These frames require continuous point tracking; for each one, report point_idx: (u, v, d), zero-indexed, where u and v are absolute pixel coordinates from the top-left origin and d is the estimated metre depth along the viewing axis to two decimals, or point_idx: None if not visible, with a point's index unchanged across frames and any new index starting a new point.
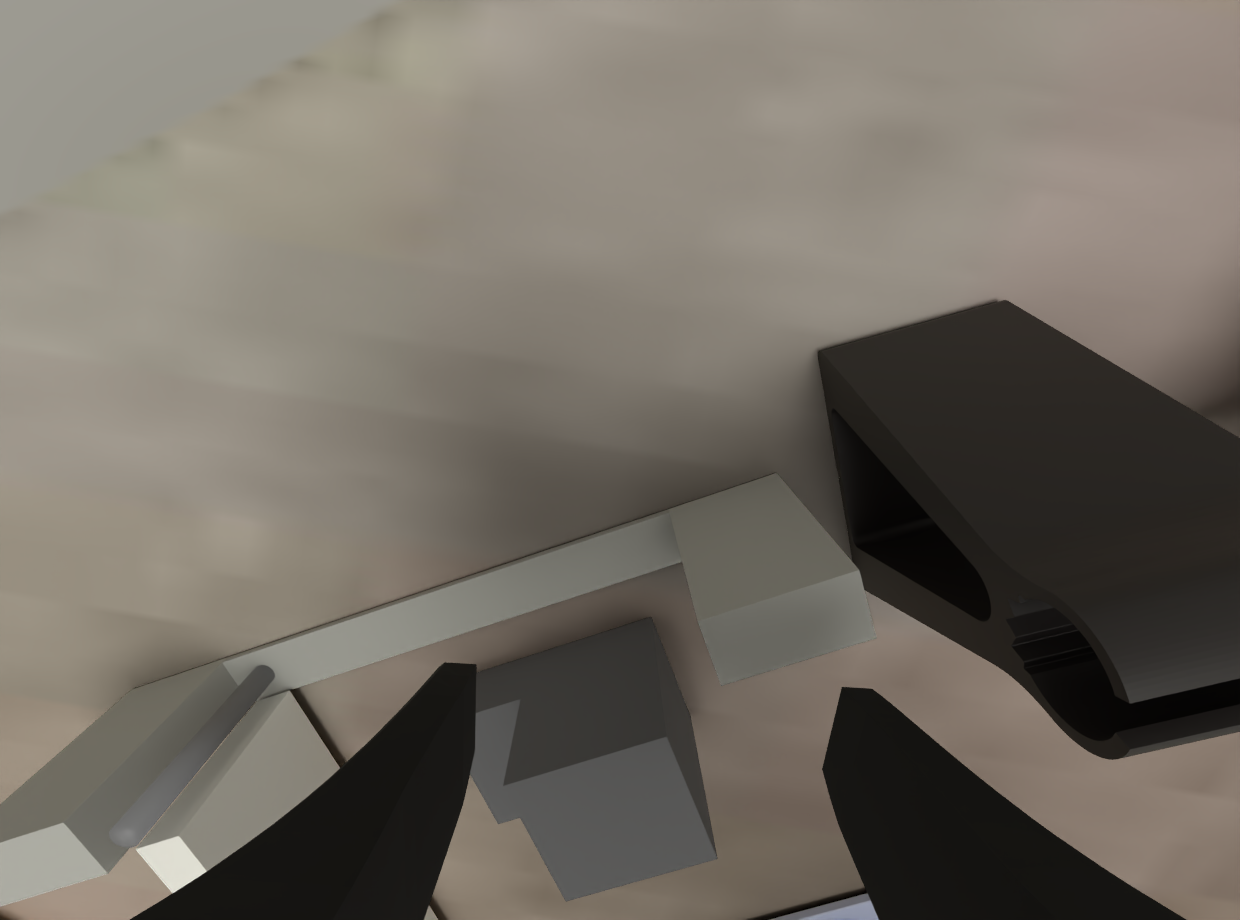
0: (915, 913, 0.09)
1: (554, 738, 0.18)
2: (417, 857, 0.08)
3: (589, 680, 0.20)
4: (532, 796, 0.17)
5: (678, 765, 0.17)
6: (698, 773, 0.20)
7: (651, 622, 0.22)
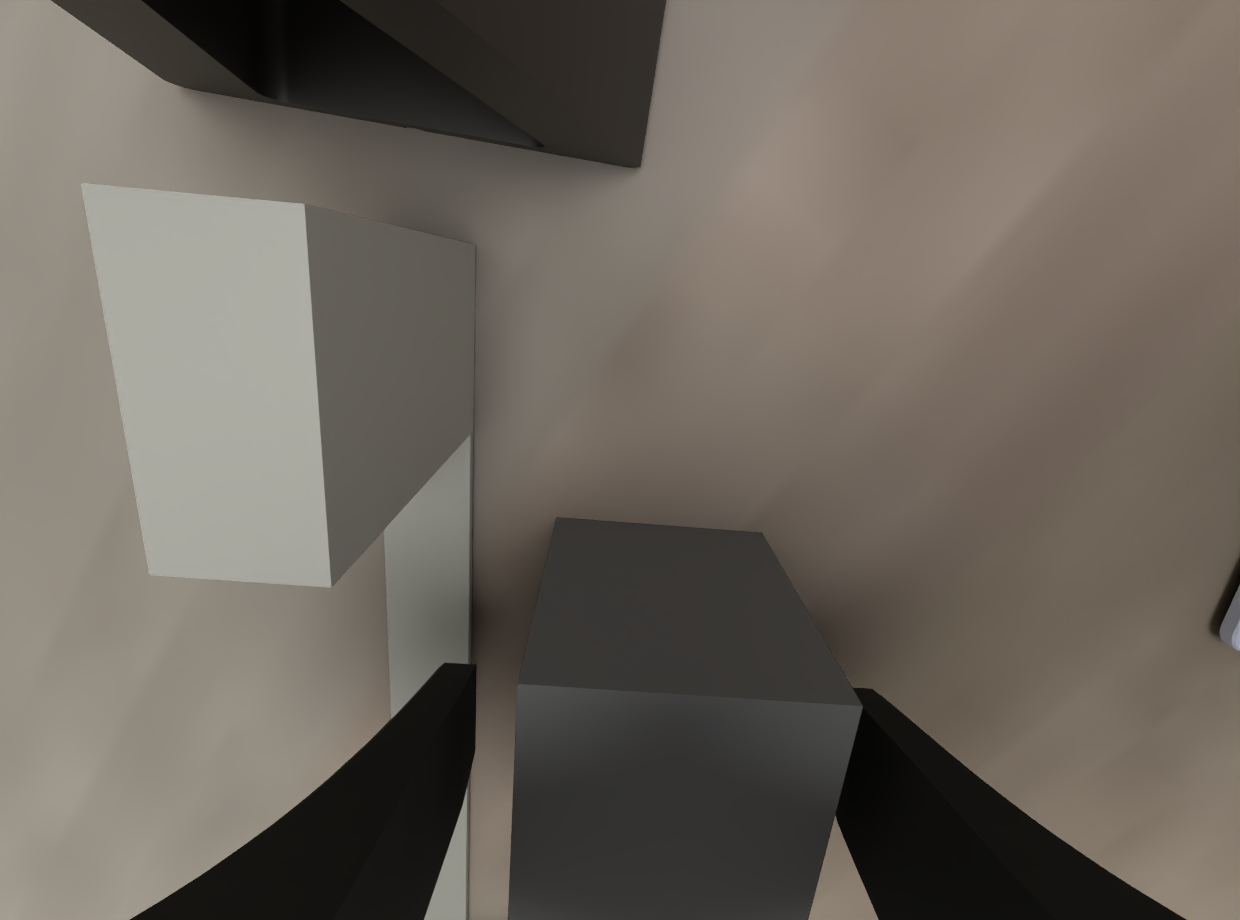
0: (915, 913, 0.09)
1: None
2: (417, 857, 0.08)
3: None
4: (548, 906, 0.10)
5: (598, 687, 0.08)
6: (771, 605, 0.11)
7: (556, 523, 0.14)
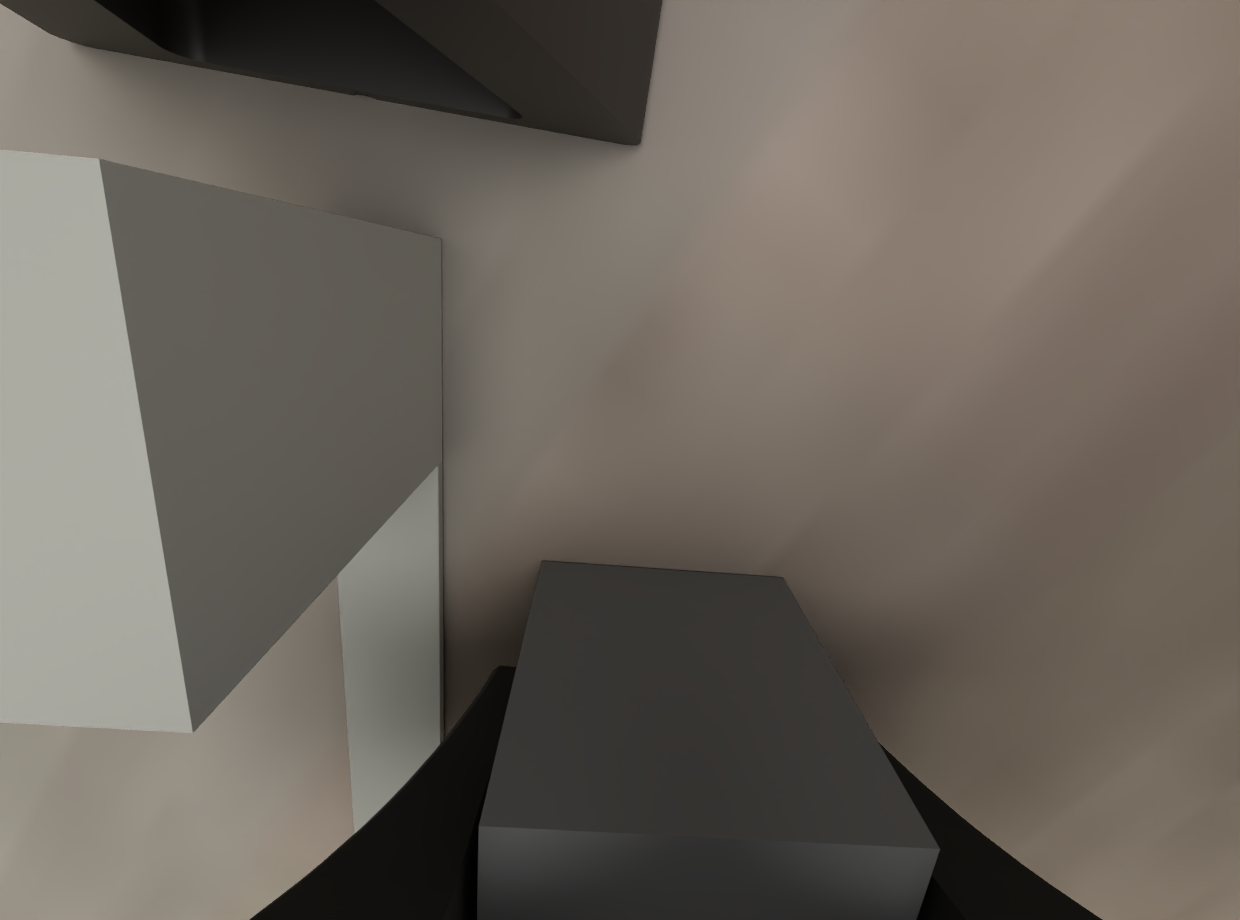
0: None
1: None
2: None
3: None
4: None
5: (588, 827, 0.06)
6: (803, 684, 0.09)
7: (541, 569, 0.12)
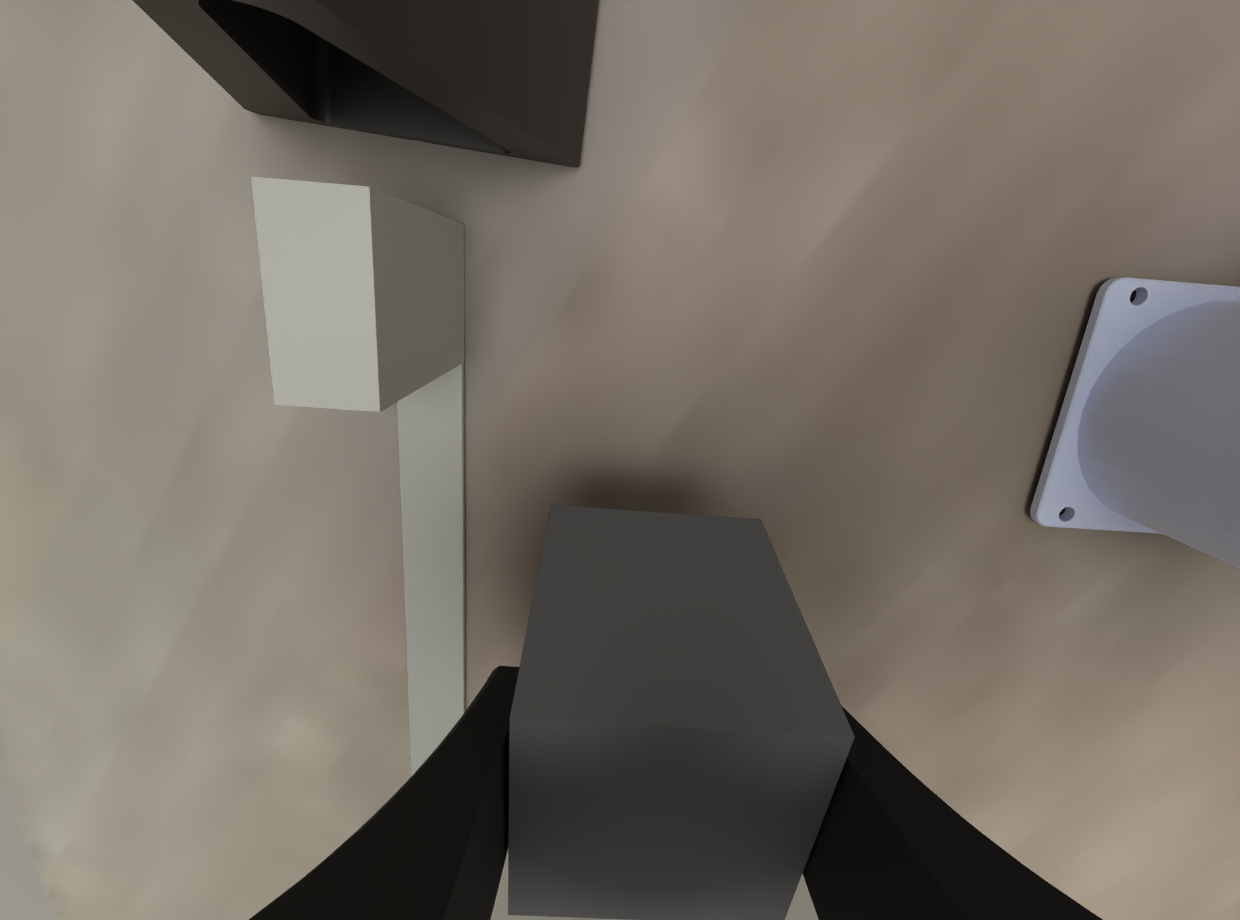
0: (848, 910, 0.09)
1: None
2: (488, 860, 0.08)
3: None
4: (546, 895, 0.10)
5: (591, 720, 0.08)
6: (767, 613, 0.11)
7: (550, 512, 0.13)
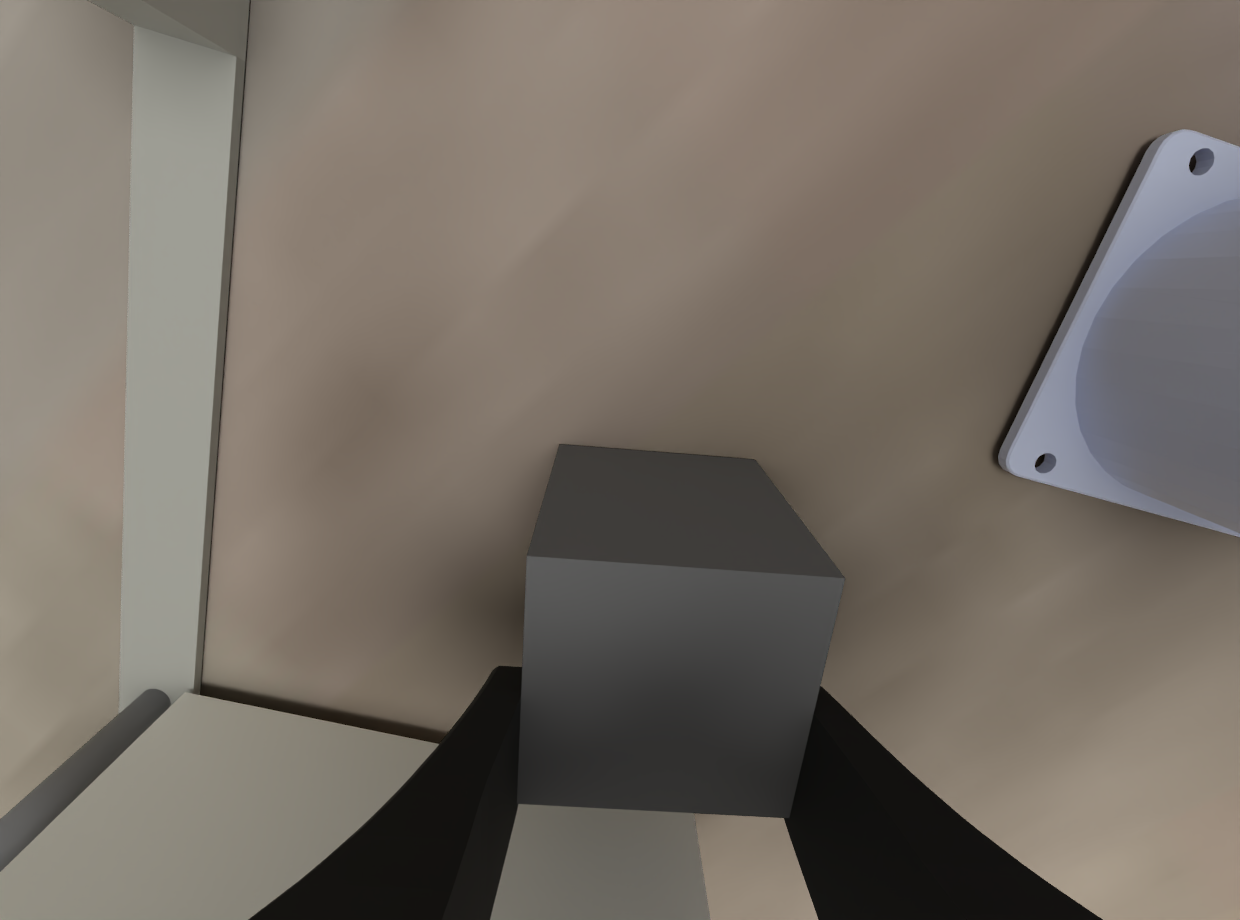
0: (848, 910, 0.09)
1: None
2: (487, 860, 0.08)
3: None
4: (555, 777, 0.10)
5: (601, 560, 0.09)
6: (762, 509, 0.12)
7: (559, 449, 0.14)
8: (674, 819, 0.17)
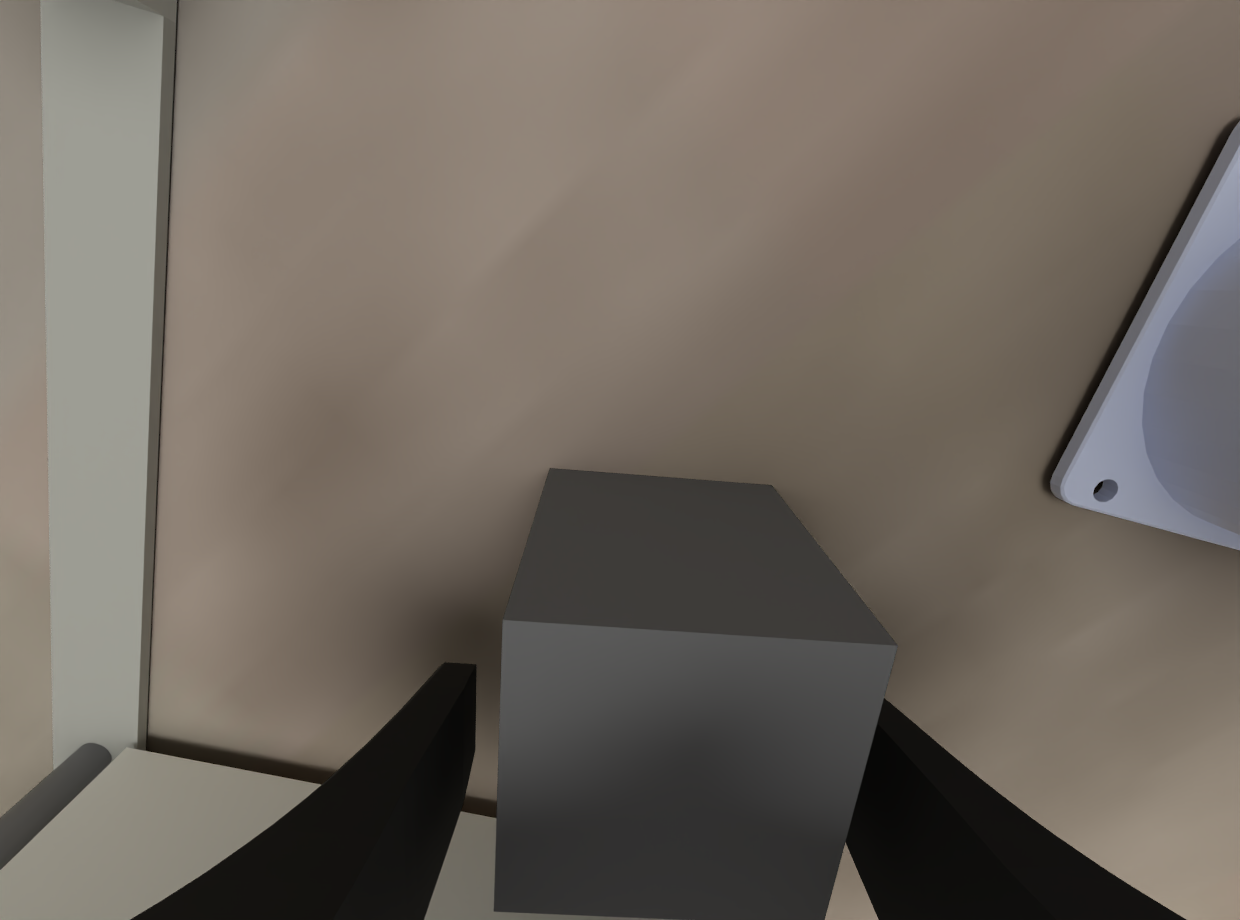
0: (915, 913, 0.09)
1: None
2: (417, 857, 0.08)
3: None
4: (540, 881, 0.08)
5: (596, 624, 0.07)
6: (786, 550, 0.10)
7: (549, 474, 0.13)
8: None
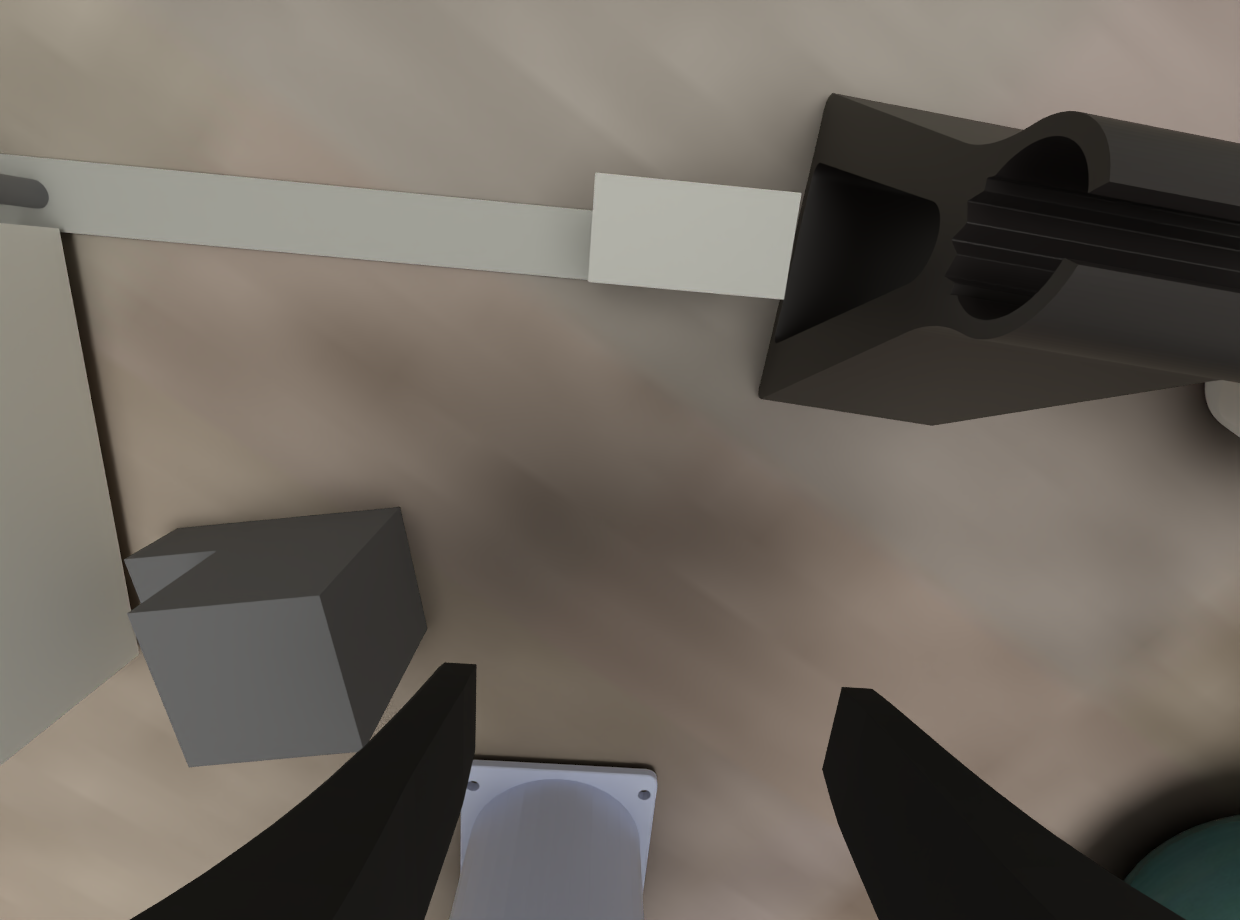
0: (915, 913, 0.09)
1: (215, 583, 0.16)
2: (417, 857, 0.08)
3: (295, 544, 0.18)
4: (160, 633, 0.15)
5: (330, 633, 0.15)
6: (391, 671, 0.19)
7: (396, 511, 0.20)
8: (115, 655, 0.20)
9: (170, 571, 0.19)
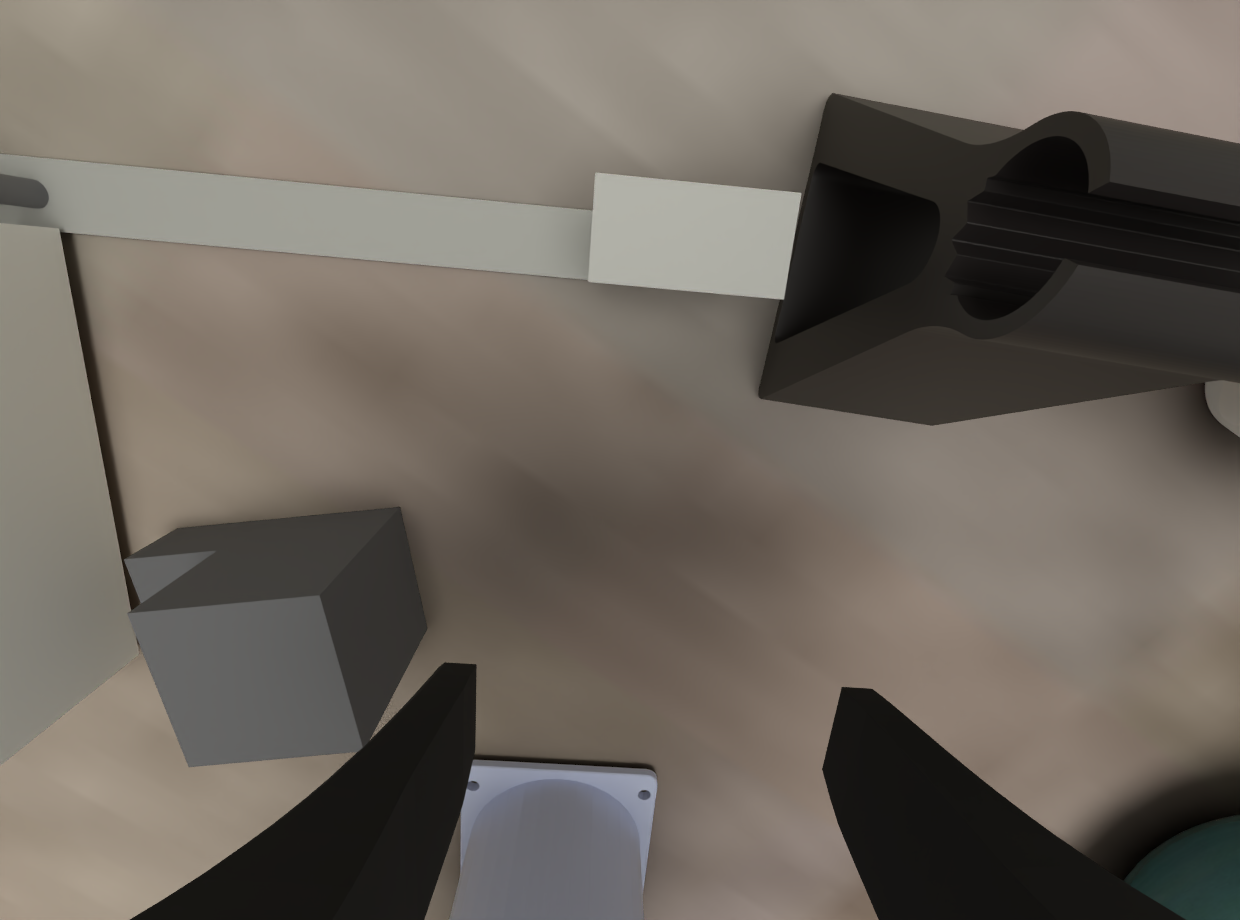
0: (915, 913, 0.09)
1: (215, 583, 0.16)
2: (417, 857, 0.08)
3: (295, 544, 0.18)
4: (160, 633, 0.15)
5: (330, 632, 0.15)
6: (392, 671, 0.19)
7: (396, 511, 0.20)
8: (115, 655, 0.20)
9: (170, 571, 0.19)
